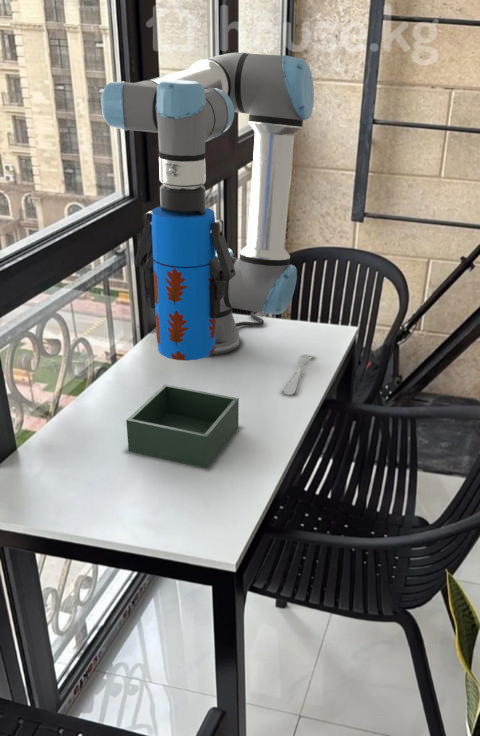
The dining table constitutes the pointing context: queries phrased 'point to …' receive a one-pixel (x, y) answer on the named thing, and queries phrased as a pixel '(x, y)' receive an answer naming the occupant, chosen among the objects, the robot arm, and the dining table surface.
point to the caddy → (183, 425)
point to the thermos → (183, 284)
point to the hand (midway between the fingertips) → (185, 310)
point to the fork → (296, 376)
